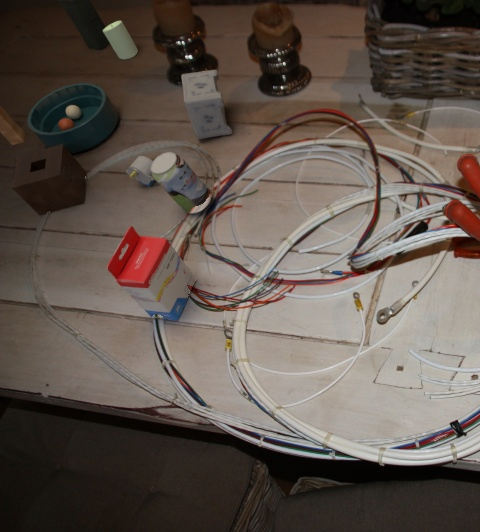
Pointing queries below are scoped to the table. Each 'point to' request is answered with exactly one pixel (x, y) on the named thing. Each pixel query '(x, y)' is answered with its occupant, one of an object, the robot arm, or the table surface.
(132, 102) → the table surface
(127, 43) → the candle
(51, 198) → the holder
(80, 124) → the bowl
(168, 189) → the beverage can
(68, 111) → the cream ball
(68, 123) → the terracotta ball
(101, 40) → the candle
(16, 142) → the stirring stick
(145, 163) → the electric motor
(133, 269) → the ink box
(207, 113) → the white printed box
